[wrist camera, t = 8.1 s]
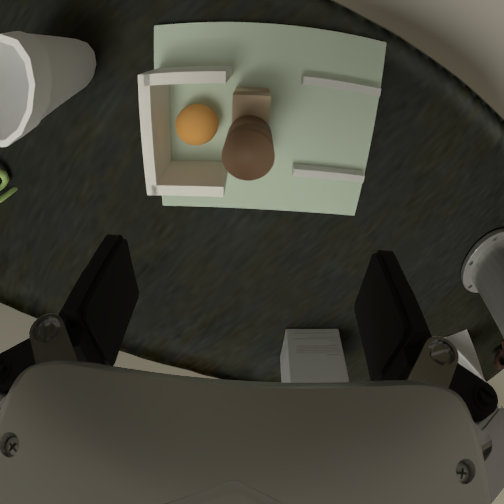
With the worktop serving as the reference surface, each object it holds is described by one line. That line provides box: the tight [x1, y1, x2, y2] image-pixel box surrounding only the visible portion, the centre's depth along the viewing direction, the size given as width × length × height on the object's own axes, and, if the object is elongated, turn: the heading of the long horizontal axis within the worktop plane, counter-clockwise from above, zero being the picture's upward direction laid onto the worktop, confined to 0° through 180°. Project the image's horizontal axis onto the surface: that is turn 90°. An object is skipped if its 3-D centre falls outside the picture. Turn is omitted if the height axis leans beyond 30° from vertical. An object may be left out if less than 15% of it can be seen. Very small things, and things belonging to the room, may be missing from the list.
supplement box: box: [280, 329, 349, 383], centre depth 46 cm, size 9×9×15 cm
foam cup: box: [0, 31, 96, 147], centre depth 20 cm, size 10×9×13 cm
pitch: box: [138, 22, 386, 216], centre depth 27 cm, size 22×20×7 cm
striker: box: [222, 86, 275, 181], centre depth 25 cm, size 4×7×10 cm, turn 177°
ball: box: [175, 104, 218, 145], centre depth 27 cm, size 4×4×4 cm
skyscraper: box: [444, 329, 499, 408], centre depth 42 cm, size 8×8×28 cm
